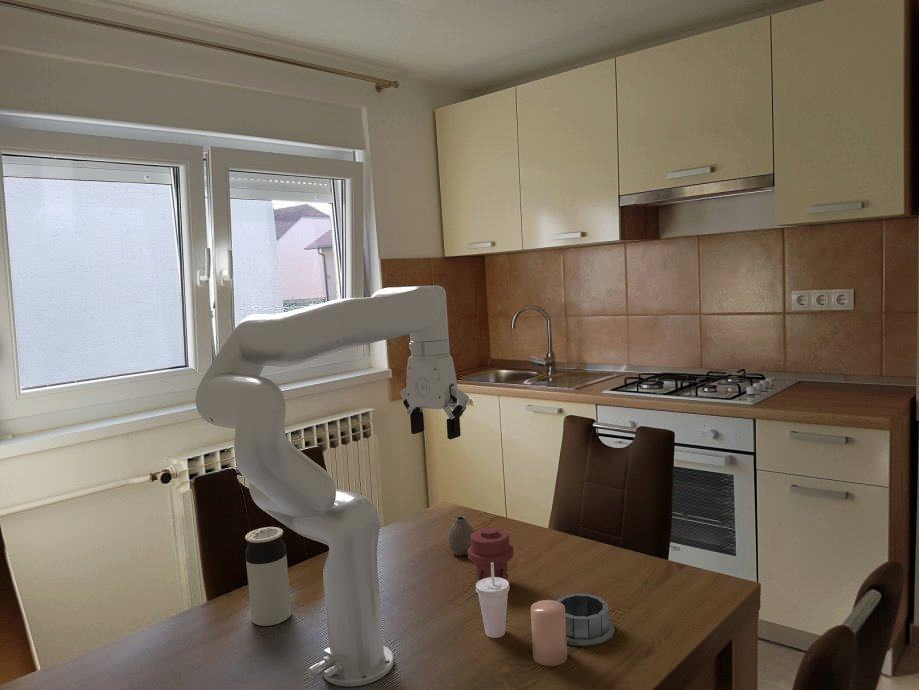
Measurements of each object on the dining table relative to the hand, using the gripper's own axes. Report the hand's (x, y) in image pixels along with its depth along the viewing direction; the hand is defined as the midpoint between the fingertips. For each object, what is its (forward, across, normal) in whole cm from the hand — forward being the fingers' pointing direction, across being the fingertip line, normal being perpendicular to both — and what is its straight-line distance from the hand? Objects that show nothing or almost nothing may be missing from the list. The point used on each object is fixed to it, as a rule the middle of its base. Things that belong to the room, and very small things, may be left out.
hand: (435, 435), depth 138 cm
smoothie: (+37, +13, -1) cm, 39 cm away
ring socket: (+37, +26, +9) cm, 46 cm away
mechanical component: (+37, 0, +15) cm, 40 cm away
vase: (+37, -17, +25) cm, 48 cm away
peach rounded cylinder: (+37, +26, -2) cm, 45 cm away
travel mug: (+37, -29, -22) cm, 52 cm away
